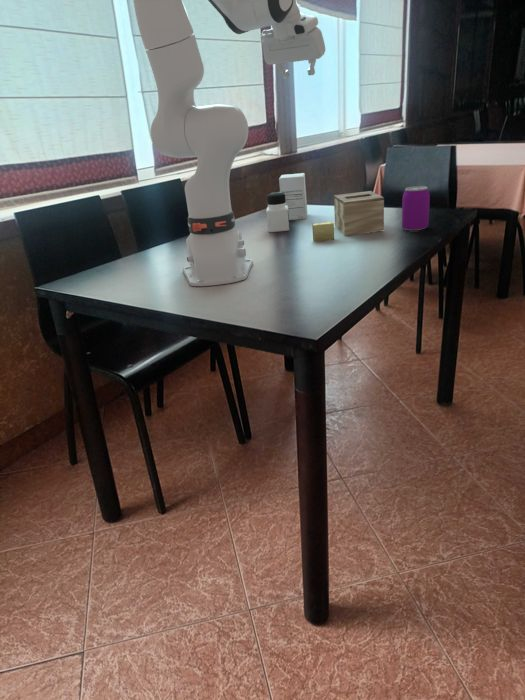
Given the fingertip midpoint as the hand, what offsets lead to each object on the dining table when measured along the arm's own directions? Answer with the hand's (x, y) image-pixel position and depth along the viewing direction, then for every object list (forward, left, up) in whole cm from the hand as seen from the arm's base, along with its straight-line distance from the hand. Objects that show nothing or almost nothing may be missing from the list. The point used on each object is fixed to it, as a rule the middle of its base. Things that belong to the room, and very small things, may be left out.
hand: (298, 75), depth 153 cm
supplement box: (+11, +3, -45) cm, 47 cm away
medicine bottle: (-6, +11, -45) cm, 47 cm away
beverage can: (-28, -28, -45) cm, 60 cm away
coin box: (-19, -13, -45) cm, 51 cm away
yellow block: (-28, 0, -45) cm, 53 cm away
